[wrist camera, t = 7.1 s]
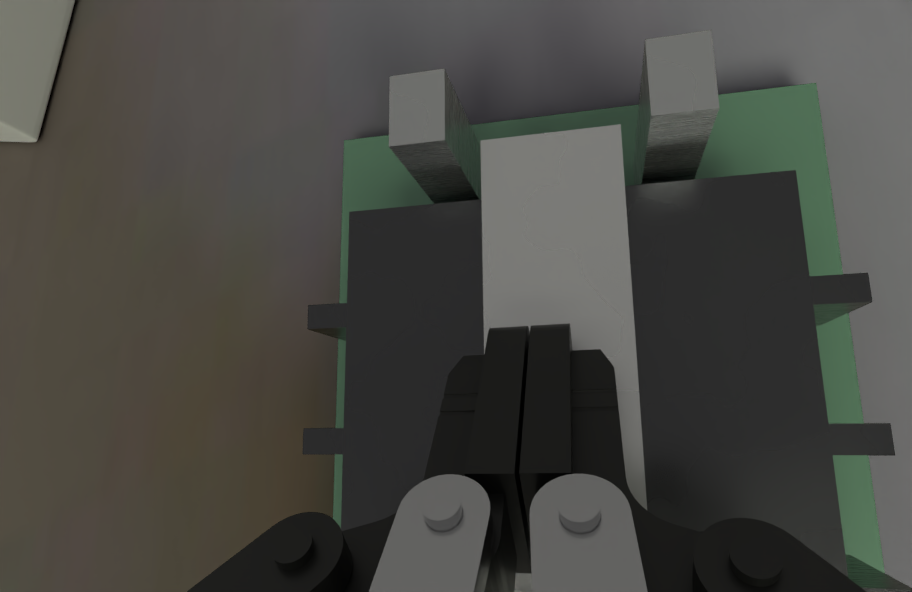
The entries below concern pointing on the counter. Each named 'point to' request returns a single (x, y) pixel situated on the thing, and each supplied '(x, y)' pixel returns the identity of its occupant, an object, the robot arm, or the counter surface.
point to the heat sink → (655, 318)
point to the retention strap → (564, 257)
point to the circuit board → (726, 154)
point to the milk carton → (29, 62)
